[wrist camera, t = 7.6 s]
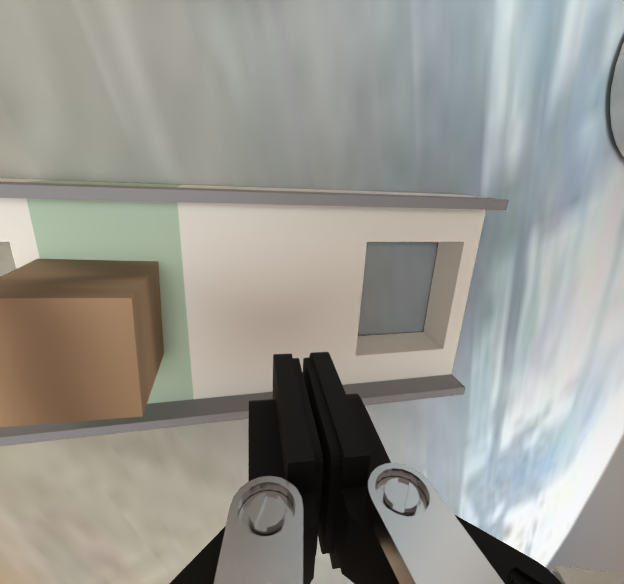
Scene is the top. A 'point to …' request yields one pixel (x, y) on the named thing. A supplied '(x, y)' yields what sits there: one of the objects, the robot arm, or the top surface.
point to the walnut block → (78, 340)
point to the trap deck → (254, 285)
